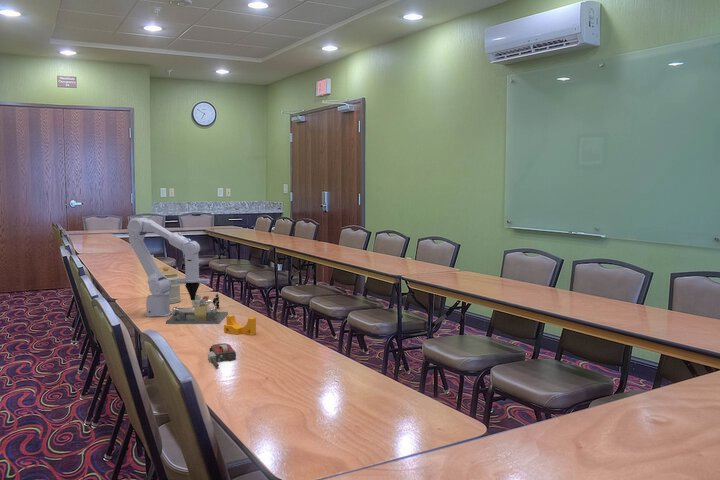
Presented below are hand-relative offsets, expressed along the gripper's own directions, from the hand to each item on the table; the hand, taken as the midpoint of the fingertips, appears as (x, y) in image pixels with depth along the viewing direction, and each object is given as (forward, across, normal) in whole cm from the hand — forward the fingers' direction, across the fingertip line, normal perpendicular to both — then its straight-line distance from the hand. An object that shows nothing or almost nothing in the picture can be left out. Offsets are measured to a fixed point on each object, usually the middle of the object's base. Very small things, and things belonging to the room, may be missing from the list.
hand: (192, 299), depth 260 cm
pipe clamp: (+8, +26, -30) cm, 41 cm away
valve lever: (+1, +5, -2) cm, 6 cm away
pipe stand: (+7, +3, -6) cm, 10 cm away
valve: (+7, +2, +14) cm, 16 cm away
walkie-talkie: (+8, +26, -64) cm, 69 cm away
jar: (+7, -21, +30) cm, 37 cm away
